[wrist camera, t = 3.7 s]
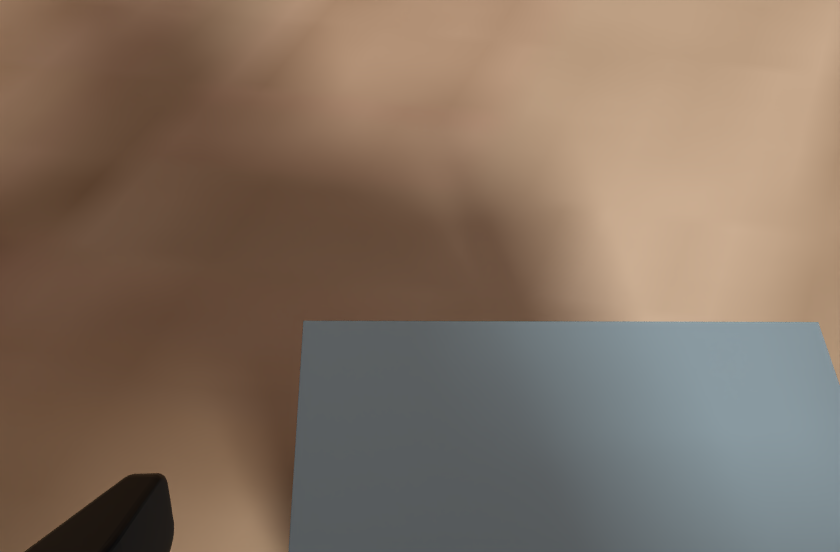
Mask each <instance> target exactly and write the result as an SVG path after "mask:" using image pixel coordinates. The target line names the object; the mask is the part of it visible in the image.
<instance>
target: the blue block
mask: <svg viewBox="0 0 840 552" xmlns="http://www.w3.org/2000/svg"><path fill="white" fill-rule="evenodd" d="M289 552H840V385H839V382H838V379H837V376H836V373H835V370H834V367H833V364H832V362H831V359H830V356H829V353H828V350H827V347H826V344H825V341H824V338H823V335H822V332H821V329H820V326H819V323H818V322H563V321H303V336H302V351H301V367H300V383H299V398H298V414H297V429H296V445H295V461H294V476H293V492H292V508H291V523H290V539H289Z"/></svg>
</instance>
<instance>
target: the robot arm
mask: <svg viewBox="0 0 840 552" xmlns="http://www.w3.org/2000/svg"><path fill="white" fill-rule="evenodd" d="M173 535H174V520H173V514H172V508H171V501H170V495H169V489H168V483H167V480H166V478H165V476H163V475H162V474H159V473H151V474H132V475H129V476H127V477H125V478H124V479H122V480H121V481H119V482H118V483H117V484H115V485H114V486H113V487H111V488H110V489H109V490H107V491H106V492H105V493H103V494H102V495H100V496H99V497H98V498H96V499H95V500H94V501H92V502H91V503H90V504H88V505H87V506H86V507H84V508H83V509H82V510H80V511H79V512H77V513H76V514H75V515H73V516H72V517H71V518H69V519H68V520H67V521H65V522H64V523H63V524H61V525H60V526H59V527H57V528H56V529H54V530H53V531H52V532H50V533H49V534H48V535H46V536H45V537H44V538H42V539H41V540H40V541H38V542H37V543H36V544H34V545H33V546H31V547H30V548H29V549H27V550H26V551H25V552H170V549H171V545H172V541H173Z"/></svg>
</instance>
